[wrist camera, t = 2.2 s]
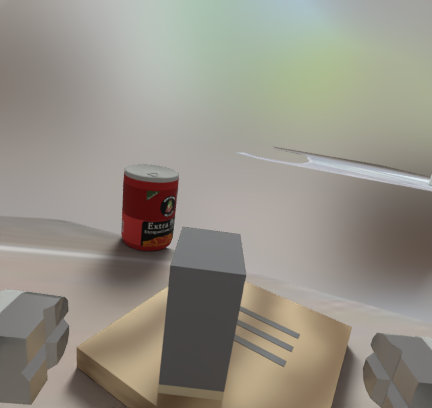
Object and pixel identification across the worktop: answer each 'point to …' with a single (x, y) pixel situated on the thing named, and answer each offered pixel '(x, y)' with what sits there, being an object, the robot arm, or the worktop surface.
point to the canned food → (149, 206)
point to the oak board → (239, 362)
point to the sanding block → (201, 313)
